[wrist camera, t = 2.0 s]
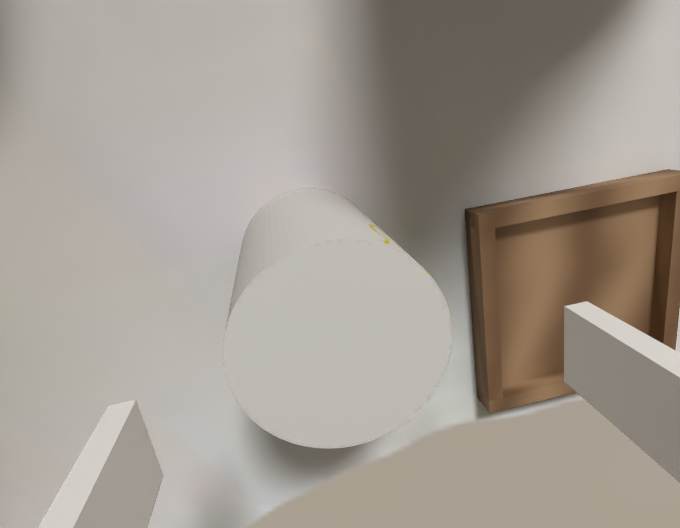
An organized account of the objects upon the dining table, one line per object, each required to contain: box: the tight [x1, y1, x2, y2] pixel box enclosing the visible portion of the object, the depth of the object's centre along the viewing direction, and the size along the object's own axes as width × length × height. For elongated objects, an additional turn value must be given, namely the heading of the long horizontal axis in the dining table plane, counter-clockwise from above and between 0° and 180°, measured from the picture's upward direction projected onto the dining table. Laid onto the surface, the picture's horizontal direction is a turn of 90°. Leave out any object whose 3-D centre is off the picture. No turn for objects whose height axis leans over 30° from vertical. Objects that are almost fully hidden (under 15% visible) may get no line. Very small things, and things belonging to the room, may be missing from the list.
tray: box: [465, 169, 680, 413], centre depth 30 cm, size 14×14×2 cm
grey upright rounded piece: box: [223, 188, 452, 449], centre depth 21 cm, size 8×8×12 cm
